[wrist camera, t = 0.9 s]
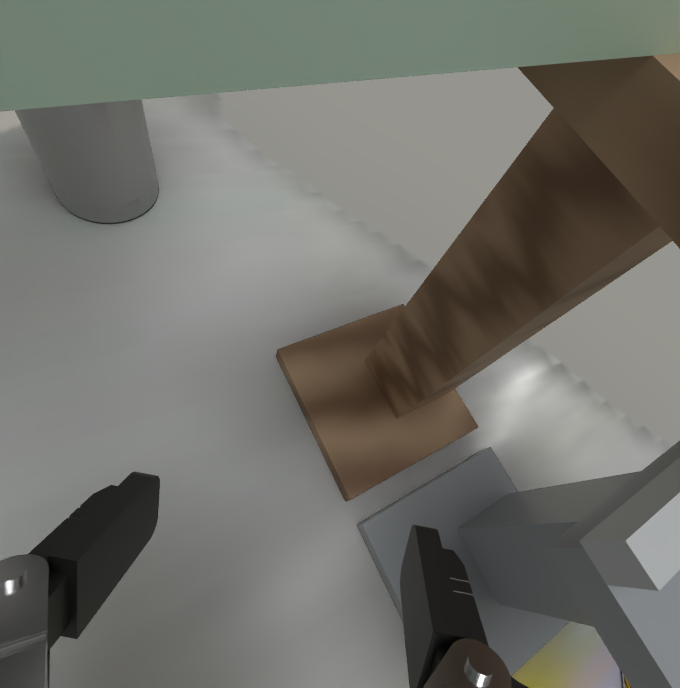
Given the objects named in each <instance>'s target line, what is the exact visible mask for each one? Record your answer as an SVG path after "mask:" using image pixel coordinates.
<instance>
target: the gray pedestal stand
mask: <svg viewBox="0 0 680 688" xmlns="http://www.w3.org/2000/svg"><path fill="white" fill-rule="evenodd" d="M412 525H418V526H424V527H429V528H434V529H437V530H438V532H439V536H440V540H441V544H442V548H444V549H450V550H454V552H455V553H456V554H457V556H458V557H459V559H460V560H461V561H462V563H463V564H464V566H465V569H466V572H467V576H468V579H469V583H470V586H471V589H472V592H473V596H474V599H475V602H476V605H477V609H478V612H479V615H480V619H481V622H482V625H483V629H484V632H485V635H486V639H487V642H488V645H489V647H490V648H491V649H492V650H493V651H495V652H496V653H497V654H498V655H499V656H500V658H501V659H502V660H503V662H504V663H505V665H506V667H507V669H508V671H509V673H510V676H512V675H513V674H514V673H515V672H516V671H517V670H518V669H520V668H521V667H522V666H523V665H524V664H525V663H526V662H527V661H528V660H529V659H530V658H531V657H532V656H533V655H534V654H536V653H537V652H538V651H539V650H540V649H541V648H542V647H543V646H544V645H545V644H546V643H547V642H548V641H549V640H550V639H551V638H553V637H554V636H555V635H556V634H557V633H558V632H559V631H560V630H561V629H562V628H563V627H564V626H565V625H566V624H567V623H568V622H570V621H572V622H576V623H580V624H585V625H589V626H593V627H595V629H596V630H597V632H598V633H599V635H600V637H601V638H602V640H603V642H604V643H605V645H606V647H607V648H608V650H609V652H610V653H611V655H612V657H613V658H614V660H615V661H616V663H617V665H618V666H619V668H620V670H621V671H622V673H623V675H624V676H625V678H626V680H627V681H628V683H629V684H630V686H631V688H680V441H679V442H678V443H676V444H675V445H674V446H672V447H671V448H670V449H669V450H667V451H666V452H665V453H664V454H662V455H661V456H660V457H659V458H657V459H656V460H655V461H654V462H652V463H651V464H650V465H649V466H647V467H646V468H645V469H644V470H642V471H640V472H634V473H628V474H622V475H616V476H610V477H604V478H598V479H593V480H587V481H581V482H575V483H569V484H563V485H557V486H551V487H545V488H540V489H534V490H528V491H522V492H518V491H517V489H516V488H515V486H514V484H513V483H512V481H511V479H510V478H509V476H508V475H507V473H506V471H505V470H504V468H503V466H502V465H501V463H500V461H499V460H498V458H497V457H496V455H495V453H494V452H493V450H492V448H491V447H489V448H486V449H484V450H481V451H480V452H478V453H476V454H475V455H473V456H471V457H470V458H468V459H466V460H465V461H463V462H461V463H459V464H458V465H456V466H454V467H453V468H451V469H449V470H448V471H446V472H444V473H443V474H441V475H439V476H438V477H436V478H434V479H433V480H431V481H429V482H428V483H426V484H424V485H423V486H421V487H419V488H418V489H416V490H414V491H413V492H411V493H409V494H408V495H406V496H404V497H403V498H401V499H399V500H398V501H396V502H394V503H393V504H391V505H389V506H388V507H386V508H384V509H383V510H381V511H379V512H378V513H376V514H374V515H373V516H371V517H369V518H368V519H366V520H364V521H363V522H361V523H359V524H358V525H357V526H358V528H359V530H360V533H361V535H362V537H363V539H364V541H365V543H366V545H367V547H368V549H369V551H370V553H371V556H372V558H373V560H374V562H375V564H376V566H377V568H378V570H379V572H380V574H381V576H382V578H383V581H384V583H385V585H386V587H387V589H388V591H389V593H390V595H391V597H392V599H393V601H394V603H395V606H396V608H397V610H398V612H399V614H400V616H401V618H402V620H403V613H402V603H401V592H400V574H401V567H402V562H403V558H404V554H405V550H406V546H407V542H408V538H409V534H410V530H411V527H412Z"/></svg>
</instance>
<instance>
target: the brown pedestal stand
mask: <svg viewBox="0 0 680 688" xmlns="http://www.w3.org/2000/svg"><path fill="white" fill-rule="evenodd" d="M518 68H519V69H520V70H521V71H522V73H523V74H524V75H525V76H526V77H527V78H528V79H529V80H530V82H531V83H532V84H533V85H534V86H535V87H536V88H537V89H538V90H539V92H541V94H542V95H543V96H544V97H545V98H546V100H548V102H549V103H550V104H551V105H552V106H553V107H554V109H553V110H552V111H551V113H550V114H549V115H548V117H547V118H546V119H545V121H544V122H543V123H542V125H541V126H540V127H539V129H538V130H537V131H536V133H535V134H534V135H533V137H532V138H531V139H530V141H529V142H528V143H527V145H526V146H525V147H524V149H523V150H522V151H521V153H520V154H519V155H518V157H517V158H516V159H515V161H514V162H513V163H512V165H511V166H510V167H509V169H508V170H507V171H506V173H505V174H504V175H503V177H502V178H501V179H500V181H499V182H498V183H497V185H496V186H495V187H494V189H493V190H492V191H491V193H490V194H489V195H488V197H487V198H486V199H485V201H484V202H483V203H482V205H481V206H480V207H479V209H478V210H477V211H476V213H475V214H474V215H473V217H472V218H471V220H470V221H469V222H468V224H467V225H466V226H465V228H464V229H463V230H462V231H461V233H460V234H459V235H458V237H457V238H456V239H455V241H454V242H453V243H452V245H451V246H450V248H449V249H448V250H447V252H446V253H445V254H444V255H443V257H442V258H441V259H440V261H439V262H438V263H437V265H436V266H435V267H434V269H433V270H432V271H431V273H430V274H429V275H428V277H427V278H426V279H425V281H424V282H423V283H422V285H421V286H420V287H419V289H418V290H417V291H416V293H415V294H414V295H413V297H412V298H411V300H410V301H409V302H408V304H407V305H406V306H404V304H402V305H399V306H396V307H393V308H391V309H388V310H385V311H382V312H380V313H377V314H374V315H371V316H369V317H366V318H363V319H360V320H358V321H355V322H352V323H349V324H346V325H344V326H341V327H338V328H335V329H333V330H330V331H327V332H324V333H322V334H319V335H316V336H313V337H311V338H308V339H305V340H302V341H300V342H297V343H294V344H291V345H289V346H286V347H283V348H280V349H278V350H277V354H276V357H277V359H278V361H279V364H280V366H281V368H282V370H283V372H284V374H285V376H286V378H287V380H288V382H289V384H290V386H291V389H292V391H293V393H294V395H295V397H296V399H297V401H298V403H299V405H300V407H301V409H302V412H303V414H304V416H305V418H306V420H307V422H308V424H309V426H310V428H311V430H312V432H313V434H314V437H315V439H316V441H317V443H318V445H319V447H320V449H321V451H322V453H323V455H324V457H325V460H326V462H327V464H328V466H329V468H330V470H331V472H332V474H333V476H334V478H335V480H336V482H337V485H338V487H339V489H340V491H341V493H342V495H343V497H344V499H345V501H348V500H350V499H352V498H354V497H356V496H358V495H359V494H361V493H363V492H365V491H366V490H368V489H370V488H372V487H374V486H375V485H377V484H379V483H381V482H382V481H384V480H386V479H388V478H389V477H391V476H393V475H395V474H397V473H398V472H400V471H402V470H404V469H405V468H407V467H409V466H411V465H412V464H414V463H416V462H418V461H420V460H421V459H423V458H425V457H427V456H428V455H430V454H432V453H434V452H436V451H437V450H439V449H441V448H443V447H444V446H446V445H448V444H450V443H451V442H453V441H455V440H457V439H459V438H460V437H462V436H464V435H466V434H467V433H469V432H471V431H473V430H474V429H476V428H478V425H477V424H476V422H475V421H474V419H473V417H472V416H471V414H470V412H469V411H468V409H467V407H466V406H465V404H464V403H463V401H462V399H461V398H460V396H459V394H458V393H457V391H456V389H455V388H456V387H458V386H459V385H460V384H462V383H463V382H465V381H466V380H468V379H469V378H471V377H472V376H474V375H475V374H477V373H478V372H480V371H481V370H483V369H484V368H486V367H487V366H489V365H490V364H491V363H493V362H494V361H496V360H497V359H499V358H500V357H502V356H503V355H505V354H506V353H508V352H509V351H511V350H512V349H514V348H515V347H517V346H518V345H519V344H521V343H522V342H524V341H525V340H527V339H528V338H530V337H531V336H532V335H534V334H536V333H537V332H539V331H540V330H542V329H543V328H545V327H546V326H547V325H549V324H550V323H552V322H553V321H555V320H556V319H558V318H559V317H561V316H562V315H564V314H565V313H567V312H568V311H570V310H571V309H573V308H574V307H575V306H577V305H578V304H580V303H581V302H583V301H584V300H586V299H587V298H589V297H590V296H592V295H593V294H594V293H596V292H598V291H599V290H600V289H602V288H603V287H605V286H606V285H608V284H609V283H611V282H612V281H614V280H615V279H617V278H618V277H620V276H621V275H623V274H624V273H625V272H627V271H629V270H630V269H631V268H633V267H634V266H636V265H637V264H639V263H640V262H642V261H643V260H645V259H646V258H648V257H649V256H651V255H652V254H653V253H655V252H657V251H658V250H659V249H661V248H662V247H664V246H665V245H667V244H668V243H670V242H671V241H674V243H675V244H676V245H677V246H678V247H679V248H680V53H677V54H665V55H653V56H642V57H630V58H618V59H607V60H595V61H583V62H572V63H560V64H548V65H537V66H525V67H518Z"/></svg>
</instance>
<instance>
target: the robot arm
mask: <svg viewBox="0 0 680 688" xmlns="http://www.w3.org/2000/svg"><path fill="white" fill-rule="evenodd" d="M15 112H16V114H17V116H18V118H19V120H20V122H21V124H22V126H23V128H24V130H25V132H26V134H27V136H28V138H29V140H30V142H31V144H32V146H33V148H34V150H35V152H36V154H37V156H38V159H39V161H40V163H41V165H42V167H43V169H44V171H45V173H46V175H47V177H48V179H49V181H50V183H51V185H52V187H53V189H54V191H55V193H56V195H57V197H58V199H59V200H60V202H61V203H62V205H63V206H64V207H65V208H66V209H67V210H69V211H70V212H71V213H73V214H75V215H77V216H78V217H81V218H83V219H86V220H89V221H94V222H100V223H116V222H123V221H127V220H131V219H134V218H136V217H138V216H140V215H142V214H143V213H145V212H146V211H147V210H149V209H150V208H151V206H152V205H153V204H154V203H155V201H156V199H157V197H158V191H159V188H158V181H157V176H156V171H155V166H154V161H153V155H152V150H151V145H150V140H149V135H148V130H147V125H146V120H145V115H144V110H143V105H142V100H141V99H139V100H128V101H116V102H104V103H92V104H81V105H69V106H57V107H46V108H34V109H22V110H15ZM159 489H160V479H159V477H158V476H155V475H150V474H144V473H139V472H132V473H131V474H130V475H129V476H128V477H127V478H126V479H125V480H124V481H123V482H122V483H121V484H120V485H119V486H114V485H110V486H108V487H106V488H104V489H102V490H100V491H98V492H96V493H94V494H93V495H92V496H91V497H90V498H88V499H87V500H86V501H85V502H84V503H83V504H82V505H81V506H80V508H78V509H76V510H75V511H74V512H73V513H72V514H71V515H70V517H69V518H67V519H66V520H64V521H63V522H62V523H61V524H60V525H59V526H58V527H57V528H56V529H55V530H54V531H53V532H51V533H50V534H49V535H48V536H47V537H46V538H45V539H44V540H43V541H42V542H41V543H39V544H38V545H37V546H36V547H35V548H34V549H33V550H32V551H31V552H30V553H29V554H26V555H18V556H13V557H10V558H7V559H4V560H1V561H0V688H50V648H51V647H52V646H53V645H54V643H55V642H56V641H57V639H58V638H59V637H60V636H64V637H69V638H74V639H77V638H78V637H79V636H80V634H81V633H82V631H83V630H84V629H85V627H86V626H87V625H88V623H89V622H90V621H91V619H92V618H93V616H94V615H95V614H96V612H97V611H98V610H99V608H100V607H101V605H102V604H103V603H104V601H105V600H106V599H107V597H108V596H109V595H110V593H111V592H112V590H113V589H114V588H115V586H116V585H117V584H118V582H119V581H120V580H121V578H122V577H123V575H124V574H125V573H126V571H127V570H128V569H129V567H130V566H131V564H132V563H133V562H134V560H135V559H136V558H137V556H138V555H139V554H140V552H141V551H142V549H143V548H144V547H145V545H146V544H147V543H148V541H149V540H150V538H151V536H152V534H153V532H154V530H155V527H156V524H157V519H158V505H159ZM400 592H401V603H402V613H403V624H404V634H405V644H406V655H407V665H408V675H409V686H410V688H528V687H526V686H524V685H523V684H521V683H519V682H518V681H516V680H515V679H514V678H512V677H511V676H510V673H509V671H508V669H507V667H506V665H505V663H504V662H503V660H502V659H501V658H500V656H499V655H498V654H497V653H496V652H495V651H493V650H492V649H491V648H490V647H489V645H488V642H487V639H486V635H485V632H484V629H483V625H482V622H481V619H480V615H479V612H478V609H477V605H476V602H475V599H474V596H473V592H472V589H471V586H470V583H469V579H468V576H467V572H466V569H465V566H464V564H463V563H462V561H461V560H460V559H459V557H458V556H457V554H456V553H455V552H454V550H450V549H444V548H442V544H441V540H440V536H439V532H438V530H437V529H434V528H429V527H424V526H418V525H412V527H411V530H410V534H409V538H408V542H407V546H406V550H405V554H404V558H403V562H402V567H401V574H400Z"/></svg>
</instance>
